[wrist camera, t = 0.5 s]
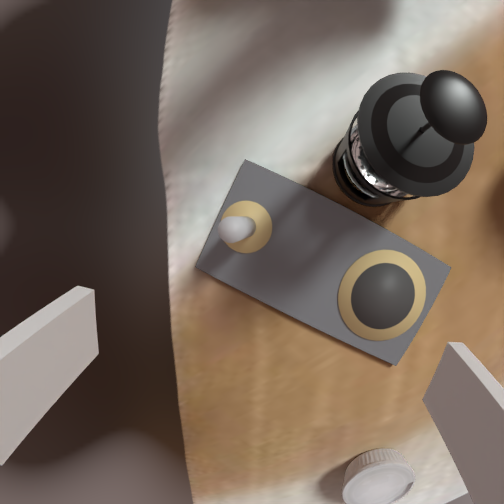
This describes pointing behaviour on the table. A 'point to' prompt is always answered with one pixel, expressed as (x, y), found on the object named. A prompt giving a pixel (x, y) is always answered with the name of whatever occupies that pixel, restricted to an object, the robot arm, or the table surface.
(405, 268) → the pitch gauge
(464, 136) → the french press
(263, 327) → the table surface
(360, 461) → the ramekin
